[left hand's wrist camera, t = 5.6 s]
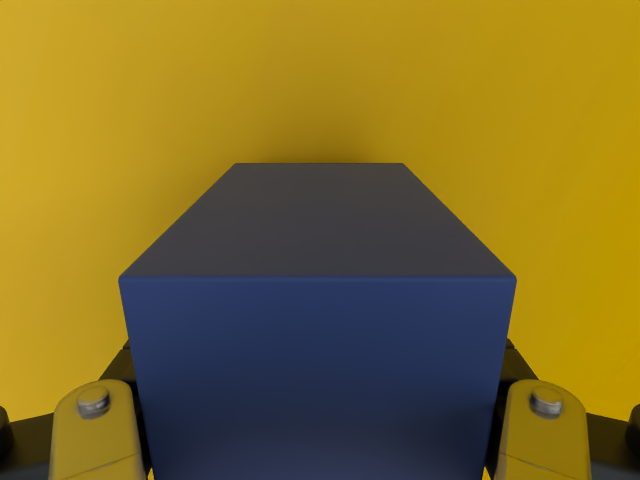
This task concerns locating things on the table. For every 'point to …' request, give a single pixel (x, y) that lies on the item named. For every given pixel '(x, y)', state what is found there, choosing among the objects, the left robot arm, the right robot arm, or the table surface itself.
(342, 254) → the long box
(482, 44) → the table surface
